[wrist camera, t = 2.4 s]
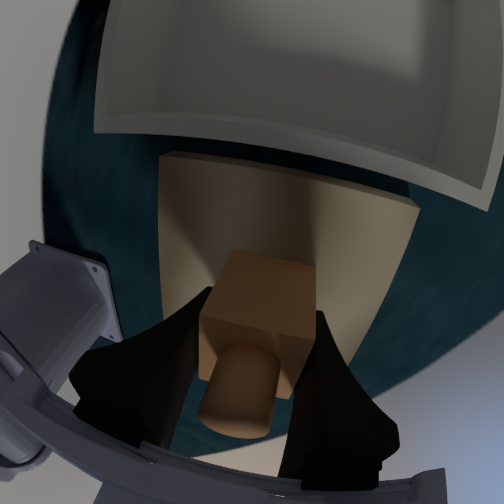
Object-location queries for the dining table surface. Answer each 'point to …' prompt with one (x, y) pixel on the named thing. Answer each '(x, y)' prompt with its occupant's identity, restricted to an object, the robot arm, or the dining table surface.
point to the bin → (318, 81)
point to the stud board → (280, 233)
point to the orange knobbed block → (254, 340)
